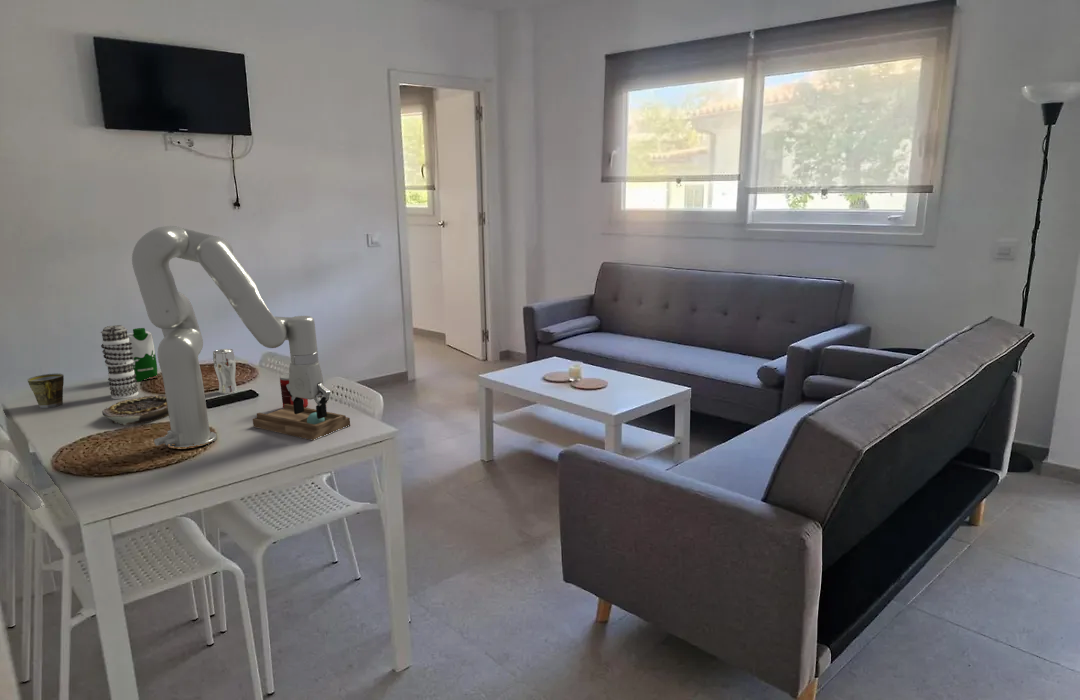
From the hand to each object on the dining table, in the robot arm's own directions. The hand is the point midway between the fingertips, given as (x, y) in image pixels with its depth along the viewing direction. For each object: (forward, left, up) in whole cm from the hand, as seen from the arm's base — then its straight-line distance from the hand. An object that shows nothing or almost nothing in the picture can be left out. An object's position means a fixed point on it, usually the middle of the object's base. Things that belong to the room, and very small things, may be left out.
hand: (310, 415), depth 200 cm
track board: (0, +4, -4) cm, 6 cm away
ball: (0, -1, -2) cm, 2 cm away
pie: (-17, +60, -5) cm, 63 cm away
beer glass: (+14, +59, -4) cm, 61 cm away
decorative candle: (-6, +89, -4) cm, 90 cm away
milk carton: (+11, +106, -4) cm, 107 cm away
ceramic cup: (-25, +100, -4) cm, 103 cm away
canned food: (+12, +21, -4) cm, 25 cm away
